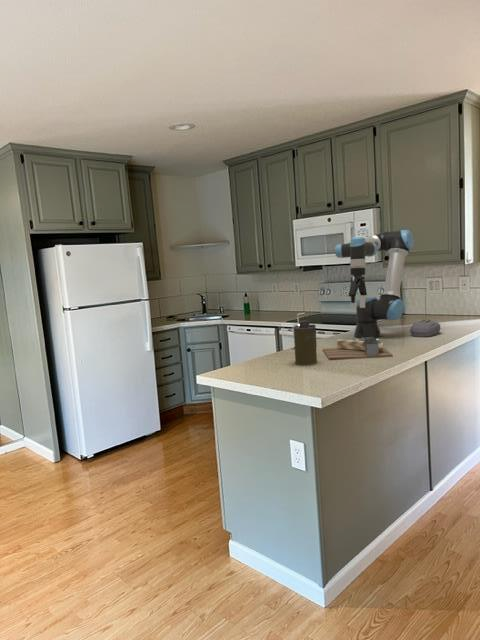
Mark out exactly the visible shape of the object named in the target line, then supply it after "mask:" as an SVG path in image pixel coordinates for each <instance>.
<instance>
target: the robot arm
mask: <svg viewBox="0 0 480 640" xmlns="http://www.w3.org/2000/svg"><path fill="white" fill-rule="evenodd" d="M414 246H415V241H414V236H413V233H412V232H411V230H408V229H401V230H391V231H390V230H389V231H383V232H379V233H376V234H373V235H370V236H368V237H367V238H365V237H364V236H363V237H362V236H357V237H356V236H355V237H351V238H350V242H347V243H338V244H337V245H336V246H335V248H334V254H335V256H336V257H337V258H338V259H345V258H346V259H347V258H350V260H349V264H350V276H351V278H350V285H349V290H348V297H350V310H355V311H356V312H355V313H356V326H355V329H354V333H353V334H354V337H355V338H357V339H361V337H374V338H375V339H378V338H380V337H382V335H381V334H382V333H381V331H380V327H379V324H378V320H386V321H393V320H394V321H396V320H399V319H400V318H401V317H402V315H403V313H404V309H405V308H404V307H405V306H404V305H405V304H404V301H403V300H402V297H401V296H400V291H401V284H402V278H403V272H404V265H405V259H406V257H407V256H408V255H409V252H410V251H411V250H413V249H414ZM378 252H387V253H388V254H389V258H388V263H387V269H386V277H385V282H384V288H383V293H381V294H380V296H379V299H378V298H377V296H371V297H370V296H369V297H366V296H367V295H368V294H367V293H368V292H367V287H366V282H365V275H366V268H365V267H366V257H368V258H370V257H374V256H375V255H376V254H377V253H378ZM358 291H359V298H358V299H357V292H358Z"/></svg>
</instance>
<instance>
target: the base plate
mask: <svg viewBox="0 0 480 640" xmlns="http://www.w3.org/2000/svg"><path fill="white" fill-rule="evenodd" d="M322 352H323V353H324V355H325V356H326V358H327V359H328V361H339V360H355V359H372V358H373V359H374V358H375V359H376V358H393V357H394V356H393V354H392V352H390V351H388V350H387V349H386V348H385V347H383V351H382V352H379V355H372V356H367V355H366V354H365V350H354V349H342V348H337V347H328V348H322Z"/></svg>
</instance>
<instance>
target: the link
mask: <svg viewBox="0 0 480 640" xmlns="http://www.w3.org/2000/svg"><path fill="white" fill-rule="evenodd" d="M336 348H342V349H354V350H365V343H364V342H363V341H362V340H352V339H350V340H349V339H337V340H336ZM383 348H384V342H382V341H381V342H380V343H378V352H382V351H383Z"/></svg>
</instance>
